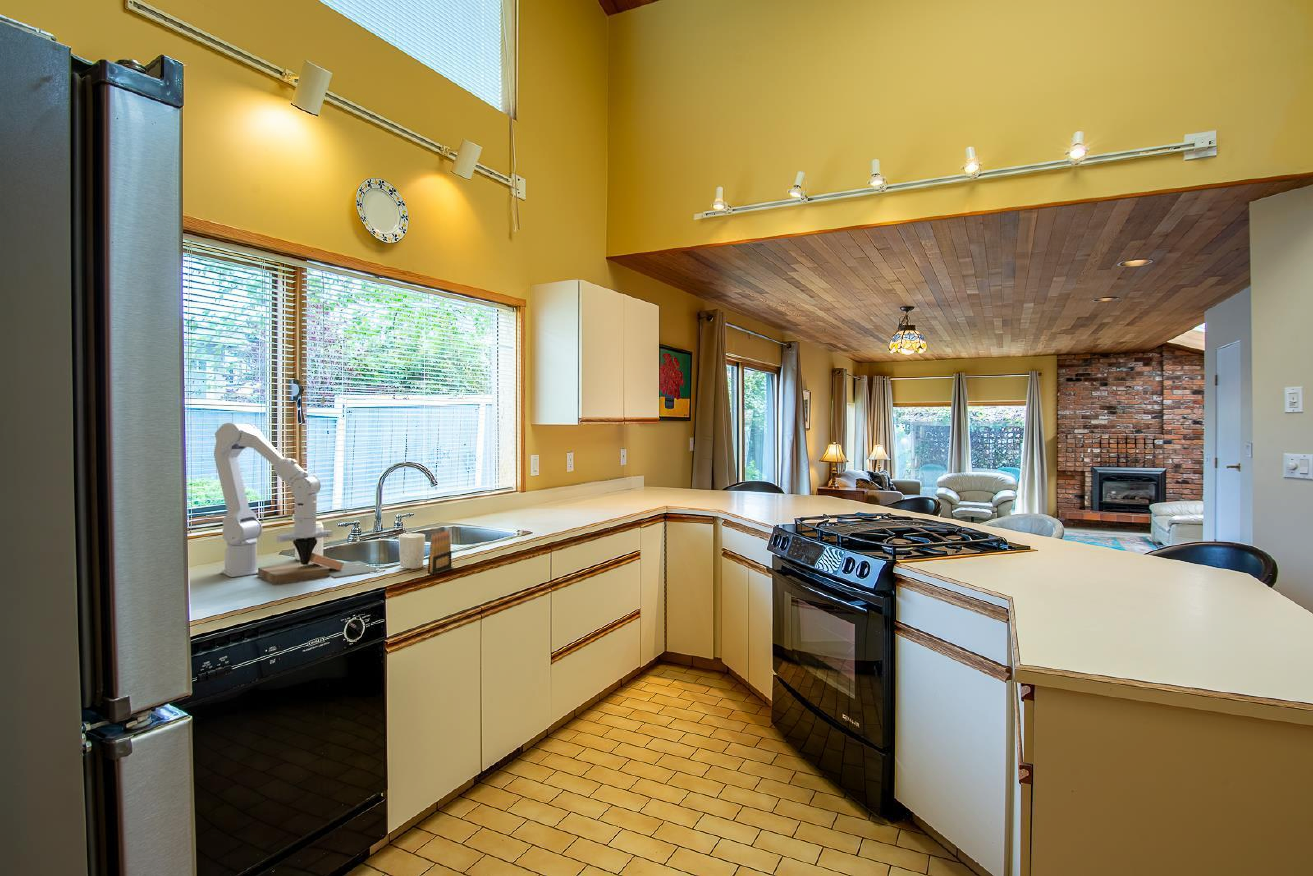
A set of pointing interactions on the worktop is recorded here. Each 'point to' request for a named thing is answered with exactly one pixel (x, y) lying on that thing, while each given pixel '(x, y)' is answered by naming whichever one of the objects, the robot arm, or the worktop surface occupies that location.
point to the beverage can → (319, 546)
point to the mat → (351, 569)
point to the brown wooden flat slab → (292, 572)
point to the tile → (326, 561)
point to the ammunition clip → (440, 552)
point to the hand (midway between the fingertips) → (304, 564)
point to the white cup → (411, 550)
